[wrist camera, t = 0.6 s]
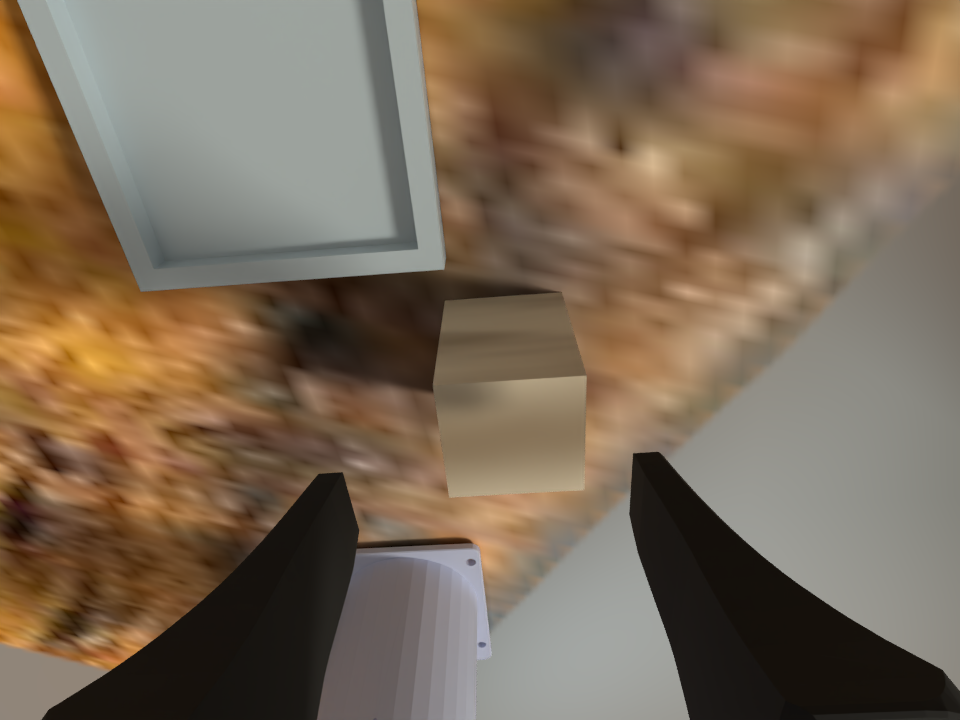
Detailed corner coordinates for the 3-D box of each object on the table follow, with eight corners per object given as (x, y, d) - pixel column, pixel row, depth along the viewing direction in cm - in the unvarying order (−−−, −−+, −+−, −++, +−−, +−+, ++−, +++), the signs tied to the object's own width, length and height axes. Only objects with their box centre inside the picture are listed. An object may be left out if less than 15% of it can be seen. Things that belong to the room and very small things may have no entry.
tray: (446, 257, 21) (444, 269, 20) (157, 278, 21) (141, 291, 20) (400, -132, 15) (394, -143, 14) (9, -90, 16) (-25, -98, 14)
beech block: (562, 389, 24) (584, 490, 18) (456, 395, 24) (449, 497, 19) (561, 291, 21) (586, 375, 16) (445, 300, 22) (432, 385, 16)
